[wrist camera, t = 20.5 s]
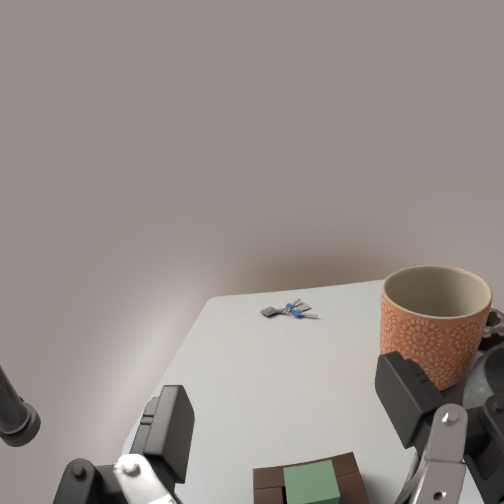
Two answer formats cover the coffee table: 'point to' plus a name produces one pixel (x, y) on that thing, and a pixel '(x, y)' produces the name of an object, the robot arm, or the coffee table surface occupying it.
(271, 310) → the key chain
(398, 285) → the planter
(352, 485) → the mount block
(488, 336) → the donut
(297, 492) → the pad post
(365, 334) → the coffee table surface
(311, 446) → the coffee table surface
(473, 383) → the bowl
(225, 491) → the coffee table surface
